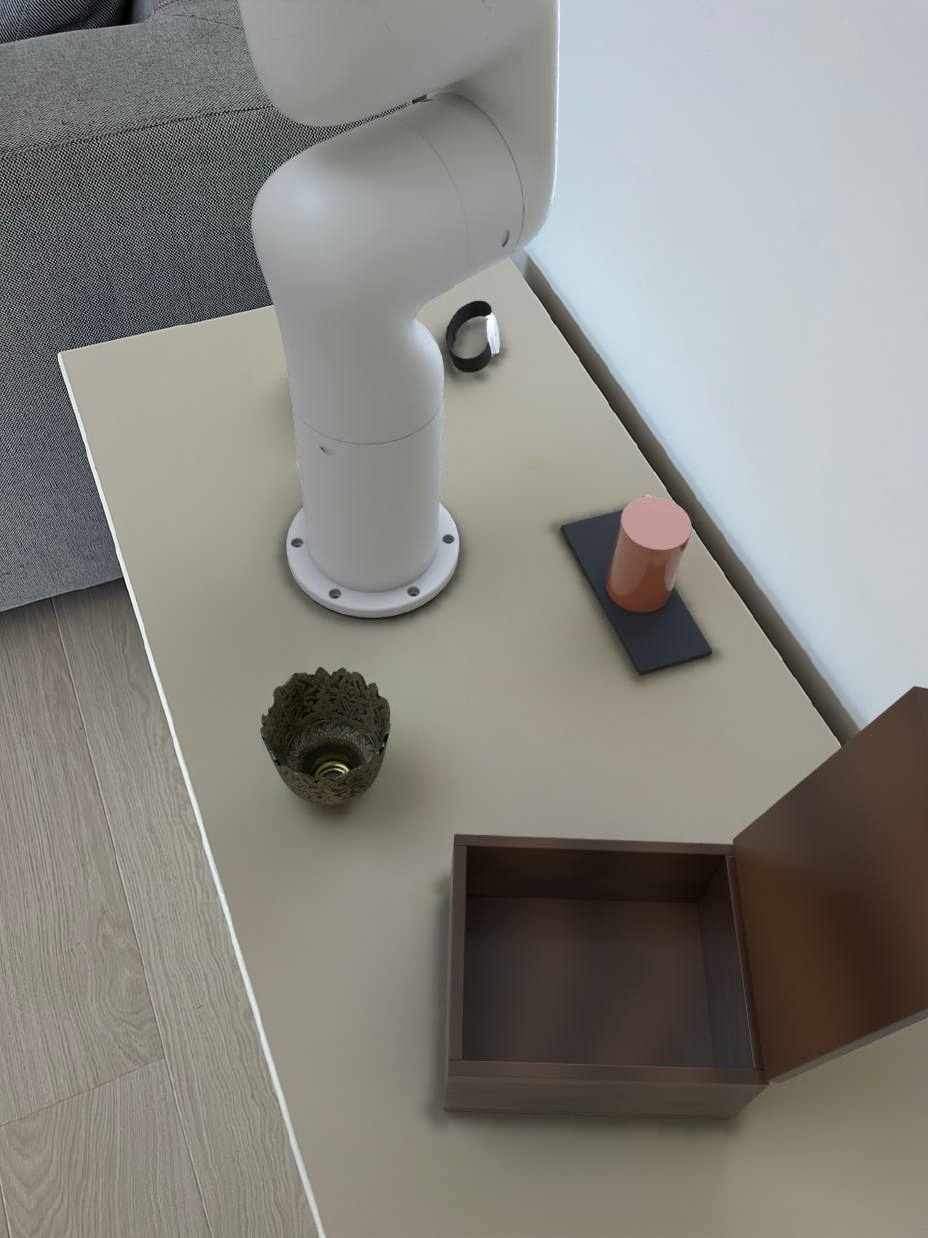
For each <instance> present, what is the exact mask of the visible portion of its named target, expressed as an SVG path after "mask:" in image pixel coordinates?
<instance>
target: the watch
mask: <svg viewBox="0 0 928 1238" xmlns="http://www.w3.org/2000/svg"><path fill="white" fill-rule="evenodd" d="M479 317H485V319H486V339H487V343H486V347H485V348H484V350H482V351H481V353H479V354H478V355H476V356H475V357H474V356H473V357H468V358H463V357H460V356H458V355H456V354H455V353H454V352H453V351H454V344H455V342H456V339H457V333H458V331H459V330H460V328H461V327H462V326H463V325H464V324H465V323H466V322H468V321H470V320H472V319H475V318H479ZM445 342H446V345H447V349H448V352H449V356H450V359H451V362H452V364H453V366H454V367H455V368H456V369H457V370H459V371H461V372H463V373H468V374H470V373H471V374H472V373H477V372H479V371H482V370H483V369H485V368H486V367H487V366H488V365H489V363H490V362H491V360H492V358H493V357H494V355H496V354H499V352H500V347H501V346H500V345H501V344H500V342H501V341H500V330H499V325H498V320H497V317H496V315H495V314H493V308H492V306H491V304H490V303H488V302H487V301H485V300H473V301H470V302H467V303H465V304H464V305H463V306H461V307H459V308H458V309H457V310H456V312H455V313H454V314H453V316H452V317H451V319H450V321H449V322H448V325H447V326H446V331H445Z"/></svg>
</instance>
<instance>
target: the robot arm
mask: <svg viewBox="0 0 928 1238" xmlns="http://www.w3.org/2000/svg"><path fill="white" fill-rule="evenodd" d="M237 2H238V7H239V12H240V17H241V20H242V25H243V31H244V34H245V38H246V43H247V48H248V51H249V55H250V58H251V63H252V66H253V68H254V70H255V74H256V76H257V79H258V82H259V84H260V86H261V88H262V90H263V91H264V93H265V95H266V97H267V98H268V100H269V101H270V102H271V103H272V105H273V106H274V108H275V109H276V110H278V112H280V113H281V114H282V115H284V116H285V117H286V118H288V119H290V120H292V121H293V122H294V123H297V124H300V125H305V126H309V127H315V128H324V127H325V128H326V127H338V126H344V125H347V124H350V123H354V122H359V121H362V120H365V119H368V118H371V117H374V116H376V115H380V114H382V113H384V112H387V111H389V110H392V109H395V108H397V107H400V106H402V105H404V104H407V103H409V102H411V101H414V100H417V99H419V98H421V97H423V96H424V97H425V96H426V98H424V99H423V100H420V101H417V102H415V103H412V104H411V105H407V106H405V107H403V108H401V109H399V110H396V111H394V112H391V113H389V114H387V115H385V116H381V117H377V118H375V119H372V120H369V121H368V122H365V123H363V124H360V125H358V126H356V127H354V128H351V129H348V130H346V131H343V132H341V133H339V134H337V135H335V136H333V137H331V138H330V137H329V138H327V139H325V140H322V141H320V142H318V143H316V144H314V145H312V146H310V147H308V148H306V149H305V150H302V151H300V152H299V153H298V154H295V155H294V156H293V157H291V158H289V159H288V160H287V161H285V162H284V163H283V164H282V165H280V166H279V167H278V168H277V169H276V170H275V171H273V173H271V174H270V176H269V177H268V178H267V179H266V181H264V183H263V185H262V186H261V187H260V189H259V191H258V193H257V195H256V196H255V200H254V201H253V202H254V203H253V206H252V211H251V219H250V225H251V226H250V228H251V236H252V241H253V246H254V250H255V253H256V257H257V260H258V263H259V264H258V265H259V266H260V269H261V272H262V276H263V278H264V281H265V284H266V287H267V290H268V292H269V296H270V299H271V302H272V305H273V308H274V311H275V314H276V319H277V322H278V327H279V331H280V335H281V340H282V341H281V342H282V345H283V351H284V357H285V364H286V371H287V378H288V388H289V396H290V397H289V398H290V402H291V411H292V412H291V413H292V420H293V421H292V422H293V429H294V439H295V447H296V455H297V460H296V461H295V463H294V468H295V470H296V471H297V472H298V474H299V481H300V490H301V500H302V507H301V508H300V509H299V510H298V512H297V513H296V514H295V516H294V518H293V520H292V522H291V524H290V526H289V528H288V532H287V537H286V556H287V563H288V567H289V570H290V572H291V575H292V577H293V579H294V581H295V582H296V583H297V585H298V586H299V588H300V589H301V590H302V591H303V592H304V593H305V594H306V595H307V596H308V597H309V598H311V600H312V601H314V602H315V603H318V604H319V605H320V606H322V607H325V608H326V609H328V610H331V611H334V612H337V613H338V614H341V615H347V616H350V617H356V618H369V619H370V618H371V619H372V618H373V619H376V618H385V617H394V616H397V615H401V614H404V613H408V612H410V611H413V610H415V609H417V608H419V607H422V606H424V605H426V604H427V603H428V602H430V601H431V600H432V599H434V598H435V597H437V596H438V595H439V594H440V593H441V592H442V591H443V590H444V589H445V588H446V587H447V585H448V583H449V582H450V581H451V579H452V578H453V576H454V573H455V571H456V568H457V565H458V563H459V554H460V535H459V533H458V529H457V525H456V522H455V521H454V518H452V515H451V514H450V512H449V511H448V510H447V509H446V507H445V506H444V505H443V504H442V503H441V479H442V478H441V477H442V476H441V475H442V455H443V454H442V452H443V451H442V450H443V428H444V426H443V423H444V395H445V394H444V386H445V368H444V361H443V355H442V353H441V350H440V346H439V345H438V342H437V341H436V340H435V338H434V336H433V335H432V333H431V332H430V331H429V330H428V329H427V328H426V326H424V325H423V324H422V323H421V322H420V321H419V320H418V319H416V317H417V315H418V313H419V312H420V310H422V308H423V307H424V306H426V305H427V304H428V303H429V302H430V301H432V300H434V299H435V298H437V297H440V296H441V295H443V294H445V293H447V292H449V291H450V290H452V289H453V288H455V286H457V285H459V284H461V283H463V282H464V281H466V280H468V279H470V278H472V277H474V276H476V275H478V274H479V273H482V272H484V271H485V270H487V269H489V268H492V267H493V266H495V265H496V264H499V263H500V262H502V261H505V260H506V259H507V258H509V257H511V256H513V255H514V254H516V253H517V252H519V251H521V250H522V249H524V248H525V247H527V246H528V245H529V244H530V243H531V242H532V241H533V240H534V239H535V238H536V237H537V236H538V235H539V234H540V232H541V231H542V229H543V228H544V226H545V224H546V222H547V220H548V218H549V216H550V213H551V211H552V207H553V202H554V197H555V191H556V185H557V184H556V182H557V170H558V141H559V140H558V137H559V135H558V134H559V131H558V129H559V87H560V86H559V85H560V84H559V82H560V80H559V79H560V36H561V34H560V33H561V31H560V30H561V27H560V26H561V4H560V3H561V0H237Z"/></svg>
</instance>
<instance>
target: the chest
mask: <svg viewBox="0 0 928 1238" xmlns="http://www.w3.org/2000/svg"><path fill="white" fill-rule="evenodd" d="M451 854H452V856H451V867H450V880H449V890H448V893H449V894H448V895H449V896H448V928H447V929H448V931H447V959H446V961H447V964H446V965H447V966H446V969H447V970H446V996H445V998H446V999H445V1001H446V1002H445V1033H444V1034H445V1035H444V1067H443V1068H444V1071H443V1072H444V1073H443V1074H444V1075H443V1104H442V1105H443V1107H442V1110H443V1111H445V1112H474V1113H475V1112H477V1113H505V1114H506V1113H507V1114H510V1113H511V1114H541V1115H542V1114H544V1115H571V1116H572V1115H573V1116H574V1115H575V1116H603V1117H604V1116H607V1117H608V1116H609V1117H639V1118H640V1117H641V1118H673V1119H674V1118H675V1119H705V1120H707V1119H708V1120H731V1119H733V1117H735V1116H736V1115H738V1113H740V1112H741V1111H743V1109H744V1108H745V1107H747V1105H749V1104H750V1103H751V1102H752V1101H753V1100H754V1099H755V1098H757V1097H759V1095H760V1094H761V1093H763V1092H764V1091H765V1090H766V1089H767V1088H768V1087H770V1085H771V1084H770V1083H771V1082H767V1081H766V1079H765V1071H764V1064H763V1057H762V1050H761V1042H760V1035H759V1028H758V1021H757V1013H756V1006H755V999H754V992H753V984H752V977H751V970H750V963H749V955H748V948H747V941H746V934H745V926H744V919H743V912H742V905H741V897H740V890H739V883H738V876H737V868H736V861H735V854H734V847H733V843H720V842H719V843H717V842H693V841H692V842H691V841H690V842H689V841H667V840H665V841H664V840H663V841H662V840H639V839H638V840H635V839H634V840H633V839H610V838H609V839H607V838H606V839H605V838H582V837H578V838H577V837H554V836H553V837H552V836H527V835H526V836H525V835H523V836H522V835H501V834H500V835H499V834H494V835H493V834H473V833H454V834H453V843H452V853H451Z"/></svg>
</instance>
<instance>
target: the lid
mask: <svg viewBox="0 0 928 1238" xmlns="http://www.w3.org/2000/svg"><path fill="white" fill-rule="evenodd" d="M732 844H733V847H734V854H735V861H736V868H737V876H738V883H739V890H740V897H741V905H742V912H743V919H744V926H745V934H746V941H747V948H748V955H749V963H750V970H751V977H752V984H753V992H754V999H755V1006H756V1013H757V1021H758V1028H759V1035H760V1042H761V1050H762V1057H763V1064H764V1071H765V1079H766V1081H767V1082H770V1083H774V1084H781V1083H783V1082H787V1081H788V1080H790V1079H793V1078H795V1077H797V1076H799V1075H802V1074H804V1073H806V1072H808V1071H810V1070H813V1069H815V1068H817V1067H820V1066H822V1065H824V1064H827V1063H828V1062H831V1061H833V1060H835V1059H838V1058H840V1057H842V1056H844V1055H846V1054H849V1053H851V1052H853V1051H856V1050H858V1049H860V1048H863V1047H865V1046H867V1045H870V1044H872V1043H874V1042H876V1041H878V1040H881V1039H883V1038H885V1037H888V1036H890V1035H892V1034H895V1033H896V1032H899V1031H901V1030H904V1029H906V1028H908V1027H910V1026H912V1025H915V1024H917V1023H920V1022H921V1021H923V1020H925V1019H928V688H927V687H923V686H918V685H914V686H912V687H911V688H910V689H908V690H907V691H906V692H905V693H904V694H903V695H902V696H901V697H899V698H897V700H896V701H895V702H893V703H892V704H891V705H890V706H889V707H887V708H886V709H885V710H884V711H882V712H881V713H880V714H879V715H878V716H877V717H875V718H874V719H873V720H872V721H870V723H868V724H867V725H866V726H865V727H863V729H861V730H860V731H859V732H858V733H857V734H855V735H854V736H853V737H852V738H851V739H849V740H848V741H847V742H846V743H845V744H843V745H842V746H841V747H840V748H839V749H837V750H836V751H835V752H834V753H833V754H832V755H831V756H829V757H828V758H827V759H826V760H825V761H823V762H822V763H820V765H819V766H817V767H816V768H815V769H814V770H812V772H810V773H809V774H808V775H807V776H806V777H804V778H803V779H802V780H800V782H799V783H797V784H796V785H795V786H794V787H793V788H791V789H790V790H789V791H788V792H786V793H785V794H784V795H783V796H782V797H780V799H778V800H777V801H776V802H775V803H774V804H773V805H771V806H770V807H768V809H767V810H765V811H764V812H763V813H762V814H761V815H759V816H758V817H756V819H755V820H754V821H753V820H752V822H751V823H750V824H748V825H747V826H746V827H745V828H744V829H743V830H742V831H740V832H739V833H738V834H737V835H736V836H735V837H733V838H732Z"/></svg>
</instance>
